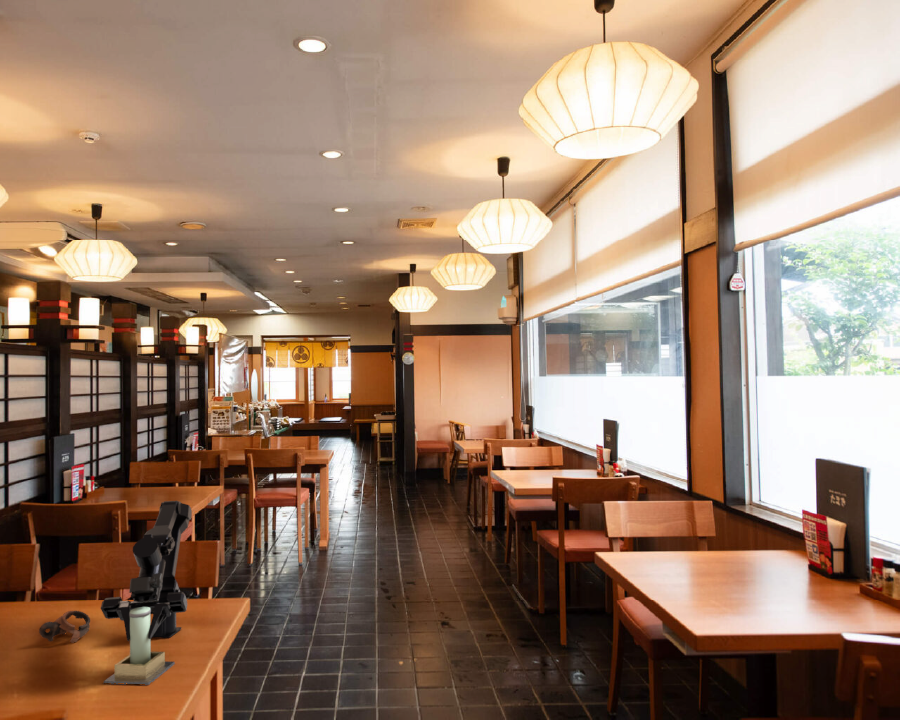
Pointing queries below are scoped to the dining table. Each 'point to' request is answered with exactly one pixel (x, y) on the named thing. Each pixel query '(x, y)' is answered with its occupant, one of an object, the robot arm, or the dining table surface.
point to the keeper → (140, 670)
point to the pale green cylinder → (140, 635)
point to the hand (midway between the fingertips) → (138, 639)
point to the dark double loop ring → (65, 626)
